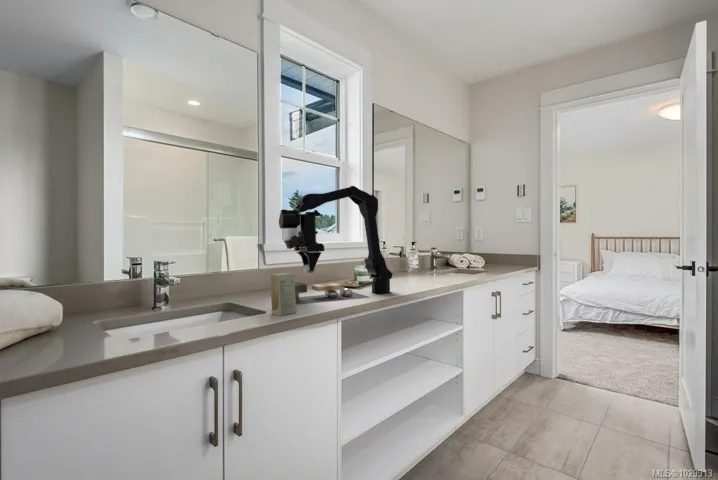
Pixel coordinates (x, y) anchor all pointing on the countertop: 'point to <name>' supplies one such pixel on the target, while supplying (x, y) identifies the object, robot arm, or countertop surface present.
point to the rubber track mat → (328, 298)
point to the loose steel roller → (307, 268)
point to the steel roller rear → (346, 292)
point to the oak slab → (327, 287)
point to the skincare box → (283, 294)
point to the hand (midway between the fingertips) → (308, 270)
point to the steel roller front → (331, 294)
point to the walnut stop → (299, 290)
